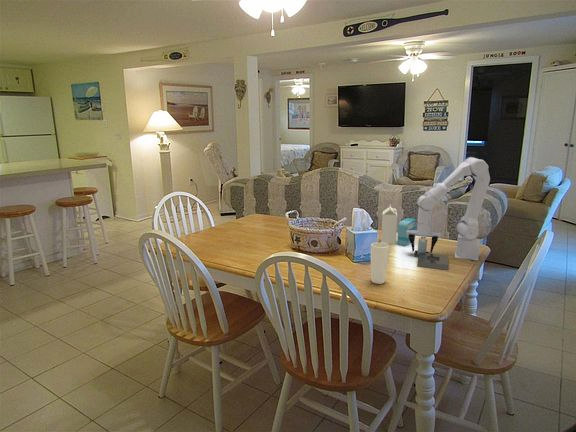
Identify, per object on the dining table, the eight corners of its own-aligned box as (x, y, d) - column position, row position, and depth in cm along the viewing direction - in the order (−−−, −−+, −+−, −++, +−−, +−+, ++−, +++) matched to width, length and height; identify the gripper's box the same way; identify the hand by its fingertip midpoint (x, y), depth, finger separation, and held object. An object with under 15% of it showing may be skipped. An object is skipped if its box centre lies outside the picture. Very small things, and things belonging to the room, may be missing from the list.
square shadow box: (429, 255, 186) (429, 251, 185) (428, 259, 180) (429, 256, 179) (414, 253, 188) (415, 250, 188) (413, 257, 182) (414, 254, 182)
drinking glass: (367, 278, 160) (368, 242, 156) (384, 277, 161) (385, 241, 157) (372, 285, 154) (373, 248, 150) (389, 284, 154) (391, 247, 150)
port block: (447, 261, 177) (448, 255, 177) (447, 271, 166) (448, 264, 166) (418, 258, 182) (419, 252, 181) (417, 267, 171) (417, 261, 170)
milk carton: (380, 244, 201) (382, 207, 196) (381, 240, 208) (383, 203, 203) (395, 245, 200) (397, 207, 195) (395, 241, 206) (397, 204, 202)
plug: (426, 254, 185) (427, 237, 183) (425, 256, 181) (427, 239, 179) (417, 253, 186) (419, 236, 184) (417, 256, 183) (418, 238, 181)
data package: (405, 247, 196) (407, 223, 193) (396, 246, 199) (398, 222, 196) (415, 241, 205) (416, 218, 202) (406, 239, 208) (407, 217, 205)
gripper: (441, 221, 181) (439, 250, 184) (408, 219, 186) (406, 247, 189) (441, 225, 175) (439, 255, 178) (406, 222, 180) (404, 251, 183)
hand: (422, 251), depth 183 cm, fingers open, 7 cm apart
